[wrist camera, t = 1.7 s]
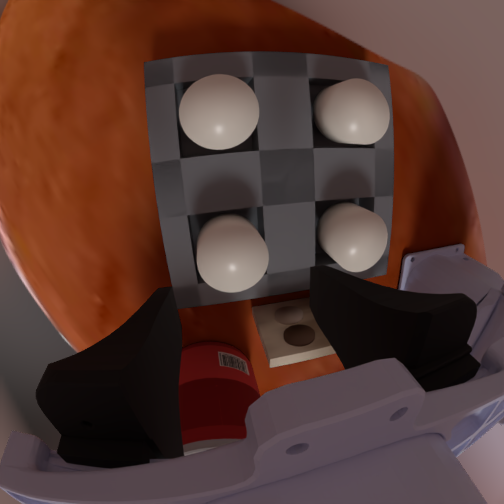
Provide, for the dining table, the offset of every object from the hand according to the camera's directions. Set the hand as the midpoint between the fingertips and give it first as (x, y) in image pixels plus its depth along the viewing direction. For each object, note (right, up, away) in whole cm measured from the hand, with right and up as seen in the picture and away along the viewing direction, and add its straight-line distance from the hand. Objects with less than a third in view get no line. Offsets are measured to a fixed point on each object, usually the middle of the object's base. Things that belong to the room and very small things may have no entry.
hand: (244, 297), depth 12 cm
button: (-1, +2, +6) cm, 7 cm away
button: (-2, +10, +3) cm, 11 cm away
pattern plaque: (+5, -2, +12) cm, 13 cm away
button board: (+2, +8, +8) cm, 11 cm away
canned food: (-4, -9, +13) cm, 16 cm away
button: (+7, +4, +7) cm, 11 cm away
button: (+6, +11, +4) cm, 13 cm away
